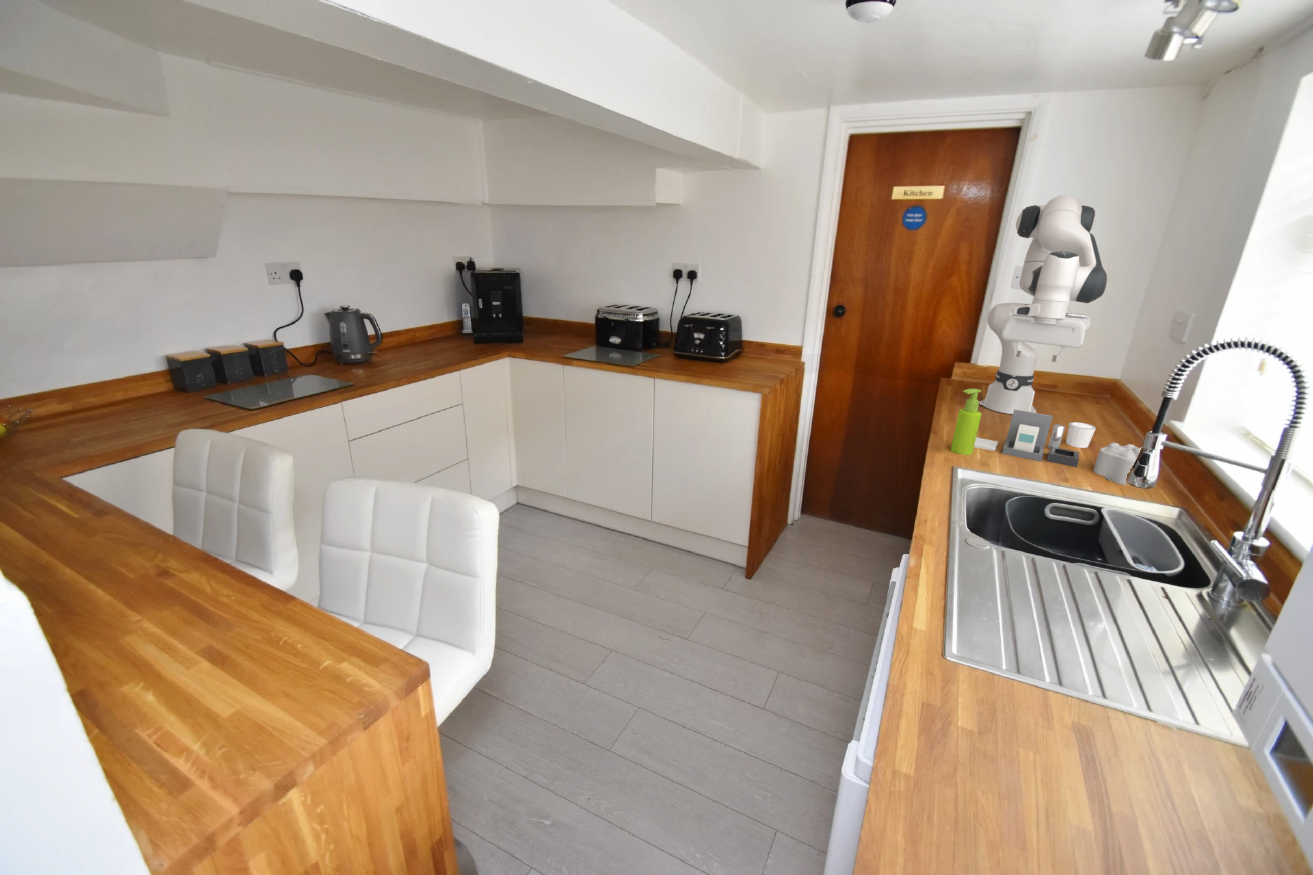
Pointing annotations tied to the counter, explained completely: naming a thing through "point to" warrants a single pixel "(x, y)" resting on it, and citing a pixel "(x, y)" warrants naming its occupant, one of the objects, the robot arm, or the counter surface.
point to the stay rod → (1056, 436)
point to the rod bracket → (1063, 456)
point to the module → (1026, 438)
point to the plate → (985, 444)
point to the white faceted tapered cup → (1079, 434)
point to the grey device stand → (1030, 420)
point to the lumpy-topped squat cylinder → (1116, 461)
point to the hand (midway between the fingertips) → (1035, 359)
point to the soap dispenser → (967, 425)
